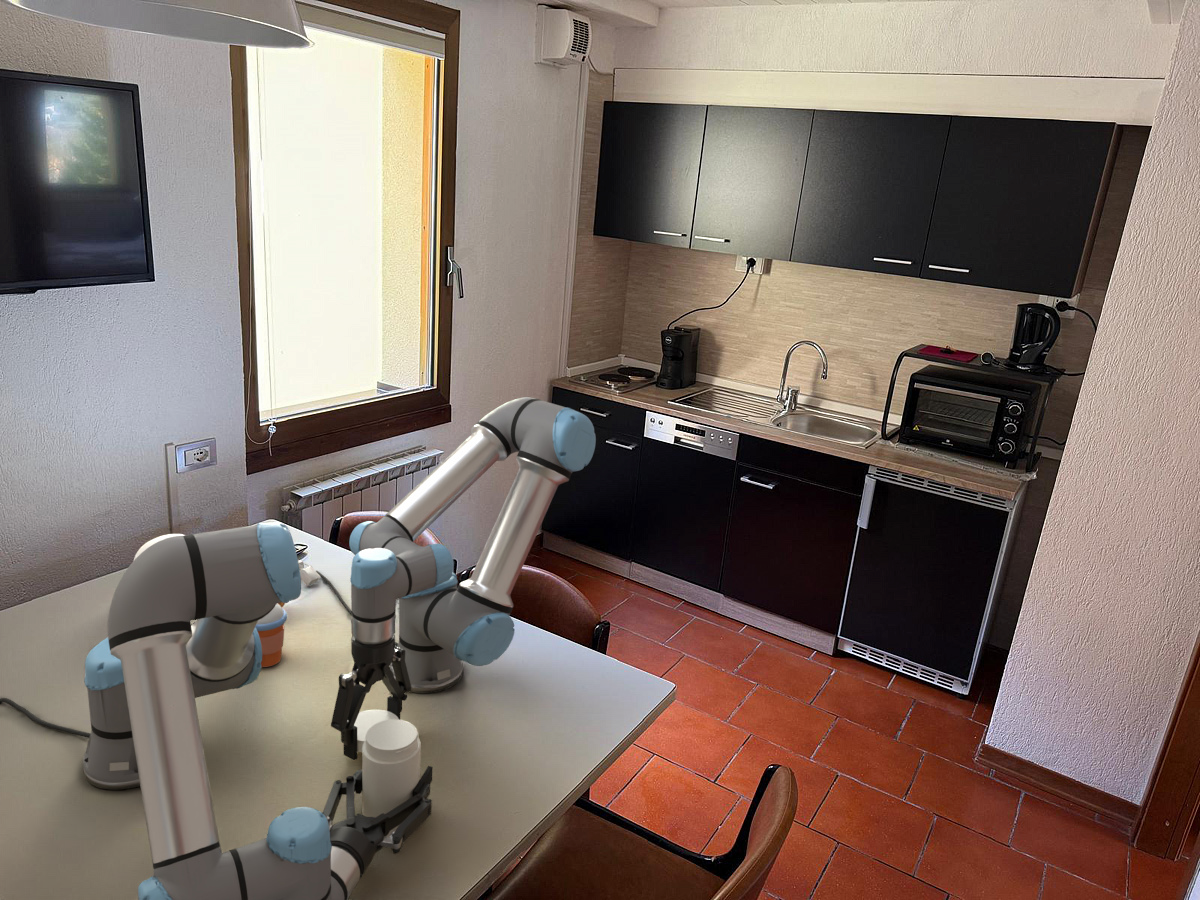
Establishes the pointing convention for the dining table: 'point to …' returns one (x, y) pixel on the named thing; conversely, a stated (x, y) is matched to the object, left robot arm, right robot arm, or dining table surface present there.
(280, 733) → the dining table surface
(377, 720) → the lid
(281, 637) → the cup with straw
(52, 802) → the dining table surface
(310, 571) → the clamp
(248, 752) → the dining table surface
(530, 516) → the right robot arm
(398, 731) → the jar
